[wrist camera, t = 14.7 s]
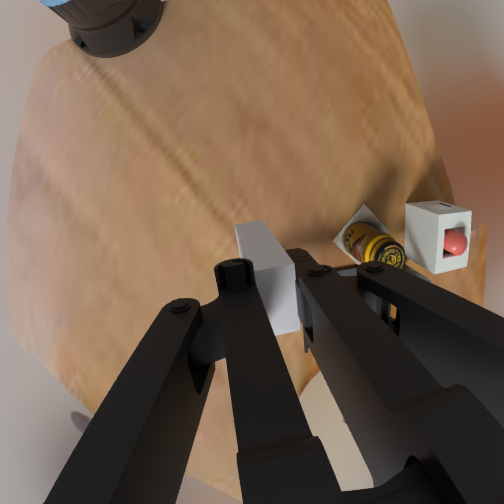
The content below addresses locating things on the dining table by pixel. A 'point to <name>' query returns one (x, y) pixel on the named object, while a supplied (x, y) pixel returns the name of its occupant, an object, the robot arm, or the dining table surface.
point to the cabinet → (435, 234)
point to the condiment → (369, 240)
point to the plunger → (455, 242)
